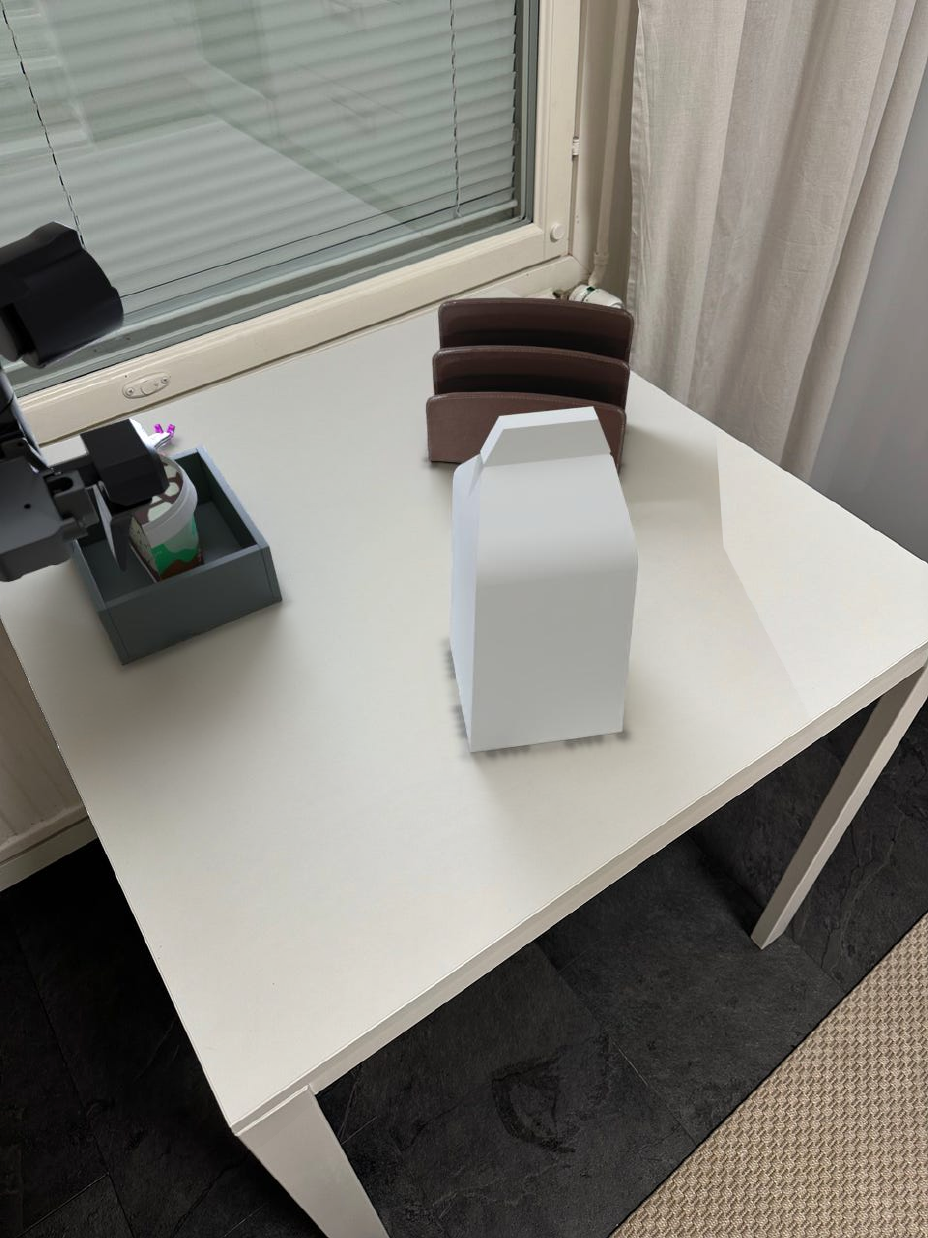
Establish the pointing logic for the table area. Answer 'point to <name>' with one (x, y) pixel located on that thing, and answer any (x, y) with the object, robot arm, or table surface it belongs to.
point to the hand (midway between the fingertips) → (58, 592)
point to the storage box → (191, 599)
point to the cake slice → (168, 528)
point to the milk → (541, 583)
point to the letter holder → (525, 368)
